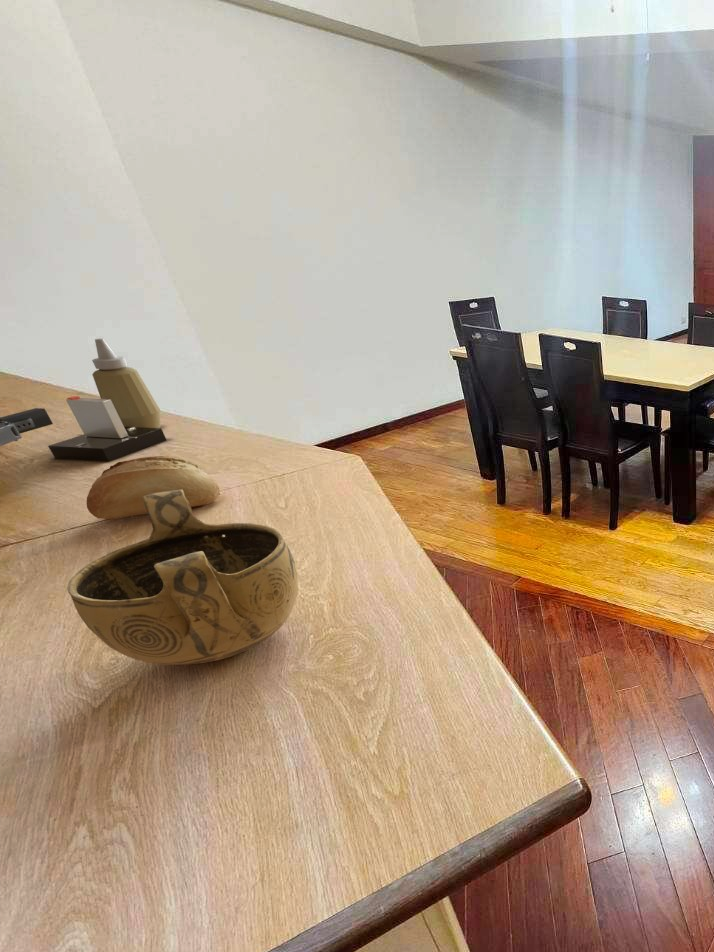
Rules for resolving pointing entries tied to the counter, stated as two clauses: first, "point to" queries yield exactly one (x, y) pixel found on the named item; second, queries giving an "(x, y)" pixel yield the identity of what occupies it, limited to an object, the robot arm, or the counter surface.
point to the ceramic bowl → (188, 588)
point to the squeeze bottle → (124, 389)
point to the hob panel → (107, 445)
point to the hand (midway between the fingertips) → (44, 416)
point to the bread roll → (147, 485)
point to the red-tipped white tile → (97, 417)
